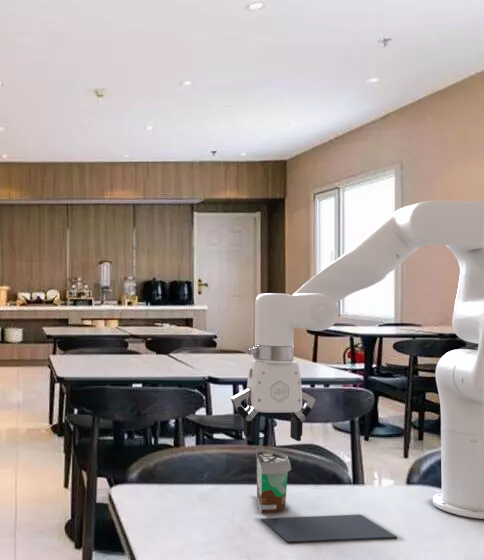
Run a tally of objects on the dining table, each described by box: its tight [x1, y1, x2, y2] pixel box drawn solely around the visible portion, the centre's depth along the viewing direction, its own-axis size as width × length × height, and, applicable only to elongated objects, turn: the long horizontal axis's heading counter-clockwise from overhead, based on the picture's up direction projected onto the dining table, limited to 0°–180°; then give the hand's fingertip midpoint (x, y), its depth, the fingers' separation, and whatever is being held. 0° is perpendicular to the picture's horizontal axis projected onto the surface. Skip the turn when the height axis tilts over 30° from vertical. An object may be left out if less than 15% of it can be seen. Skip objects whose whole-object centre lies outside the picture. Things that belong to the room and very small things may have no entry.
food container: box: [255, 448, 292, 515], centre depth 124 cm, size 12×6×10 cm, turn 168°
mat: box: [260, 514, 398, 544], centre depth 112 cm, size 20×11×1 cm, turn 97°
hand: (272, 439), depth 125 cm, fingers open, 9 cm apart
